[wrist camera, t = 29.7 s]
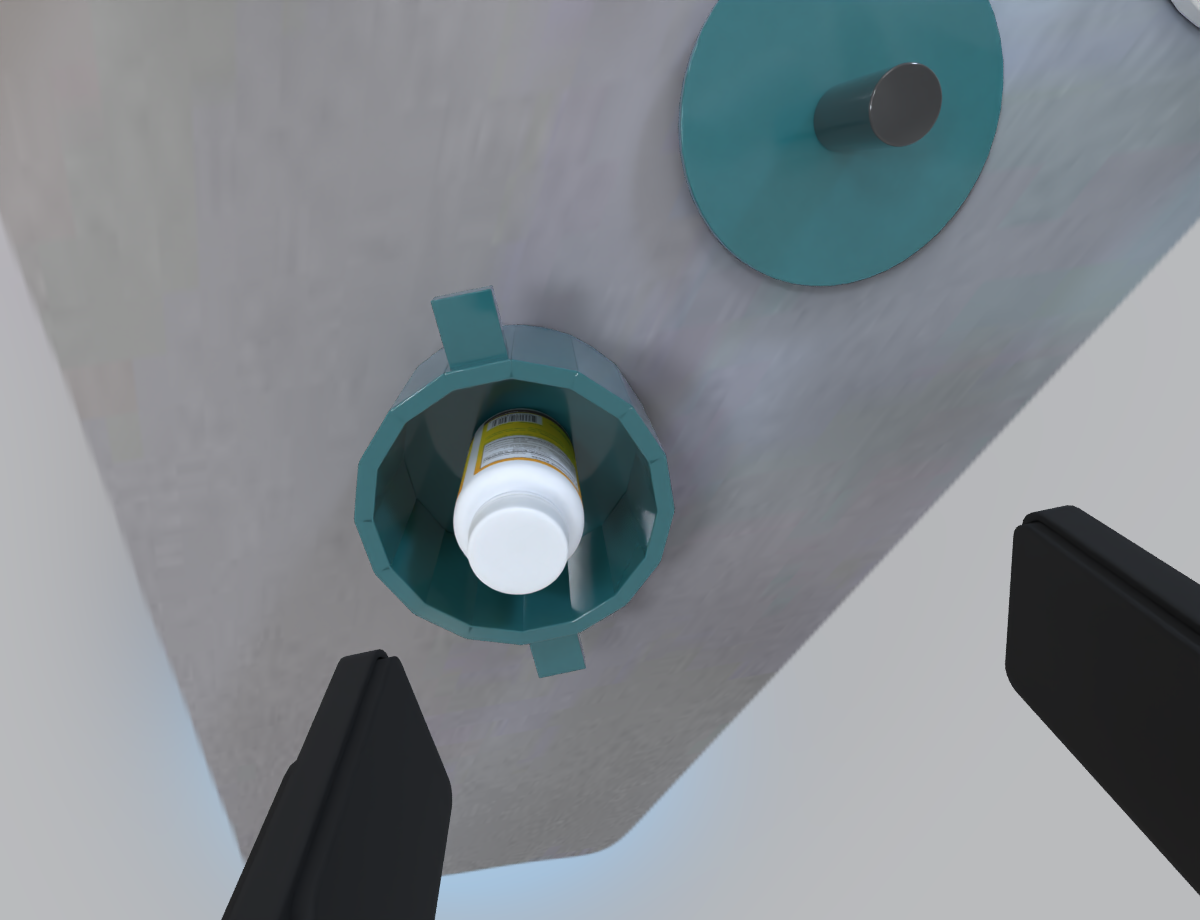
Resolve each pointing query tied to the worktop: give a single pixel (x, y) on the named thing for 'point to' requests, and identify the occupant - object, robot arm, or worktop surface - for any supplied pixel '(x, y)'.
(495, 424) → the supplement bottle
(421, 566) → the pot
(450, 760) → the worktop surface
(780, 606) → the worktop surface
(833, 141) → the lid
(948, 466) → the worktop surface
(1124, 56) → the worktop surface
